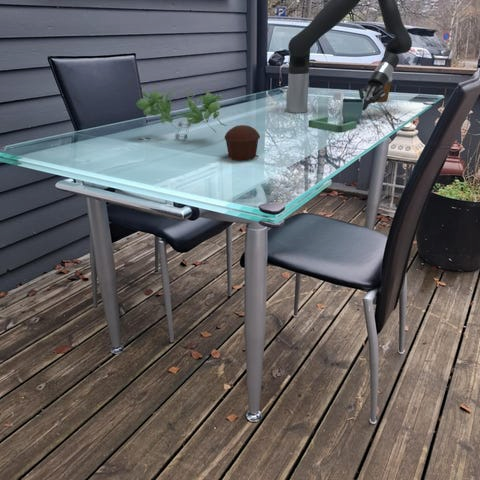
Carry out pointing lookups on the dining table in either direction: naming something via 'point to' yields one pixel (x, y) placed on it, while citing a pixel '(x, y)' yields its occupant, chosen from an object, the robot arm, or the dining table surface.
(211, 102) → the plant cuttings
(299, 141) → the dining table surface
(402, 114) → the dining table surface
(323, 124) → the green u-shaped frame
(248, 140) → the muffin
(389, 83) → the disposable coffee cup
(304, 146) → the dining table surface
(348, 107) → the flower pot
